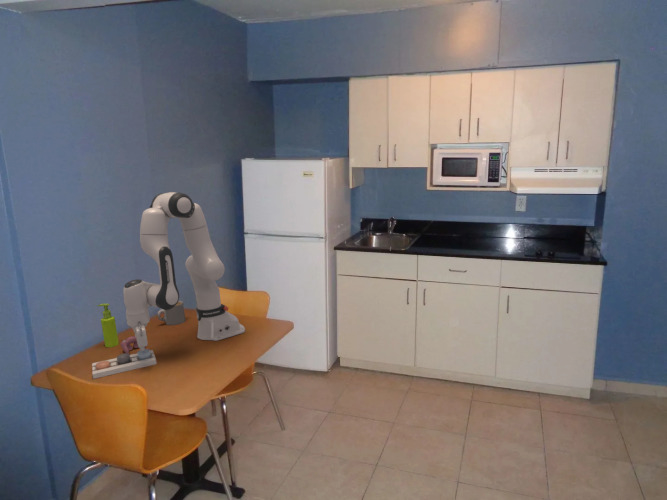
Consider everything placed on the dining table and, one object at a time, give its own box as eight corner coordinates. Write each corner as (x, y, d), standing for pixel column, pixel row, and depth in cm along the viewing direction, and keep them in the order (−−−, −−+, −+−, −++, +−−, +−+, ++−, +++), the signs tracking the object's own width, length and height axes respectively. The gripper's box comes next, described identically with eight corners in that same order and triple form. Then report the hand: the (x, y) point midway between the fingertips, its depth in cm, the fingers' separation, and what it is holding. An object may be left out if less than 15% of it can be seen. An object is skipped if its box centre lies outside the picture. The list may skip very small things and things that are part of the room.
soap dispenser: (108, 342, 230) (102, 302, 226) (121, 342, 229) (115, 302, 225) (100, 347, 225) (93, 306, 221) (113, 347, 223) (106, 306, 219)
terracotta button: (110, 366, 202) (108, 359, 201) (110, 370, 197) (109, 364, 197) (96, 369, 200) (95, 362, 199) (97, 373, 195) (95, 367, 195)
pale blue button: (150, 354, 208) (149, 348, 208) (151, 358, 204) (150, 352, 203) (137, 357, 206) (136, 350, 206) (138, 361, 202) (137, 354, 201)
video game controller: (143, 348, 224) (138, 334, 225) (147, 346, 221) (142, 332, 222) (123, 356, 216) (117, 341, 217) (127, 354, 213) (121, 339, 214)
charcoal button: (130, 359, 205) (129, 352, 204) (131, 363, 201) (130, 356, 200) (117, 361, 203) (116, 355, 202) (118, 366, 198) (117, 359, 198)
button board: (153, 354, 213) (152, 350, 212) (156, 364, 202) (156, 359, 202) (92, 367, 202) (92, 363, 202) (93, 378, 192) (92, 374, 191)
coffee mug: (184, 317, 260) (181, 299, 258) (186, 322, 251) (184, 304, 249) (157, 322, 255) (155, 304, 253) (159, 327, 246) (156, 309, 244)
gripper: (148, 324, 194) (153, 356, 197) (143, 311, 212) (147, 340, 215) (132, 327, 191) (136, 360, 194) (128, 313, 209) (132, 343, 212)
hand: (142, 349), depth 204 cm, fingers closed
